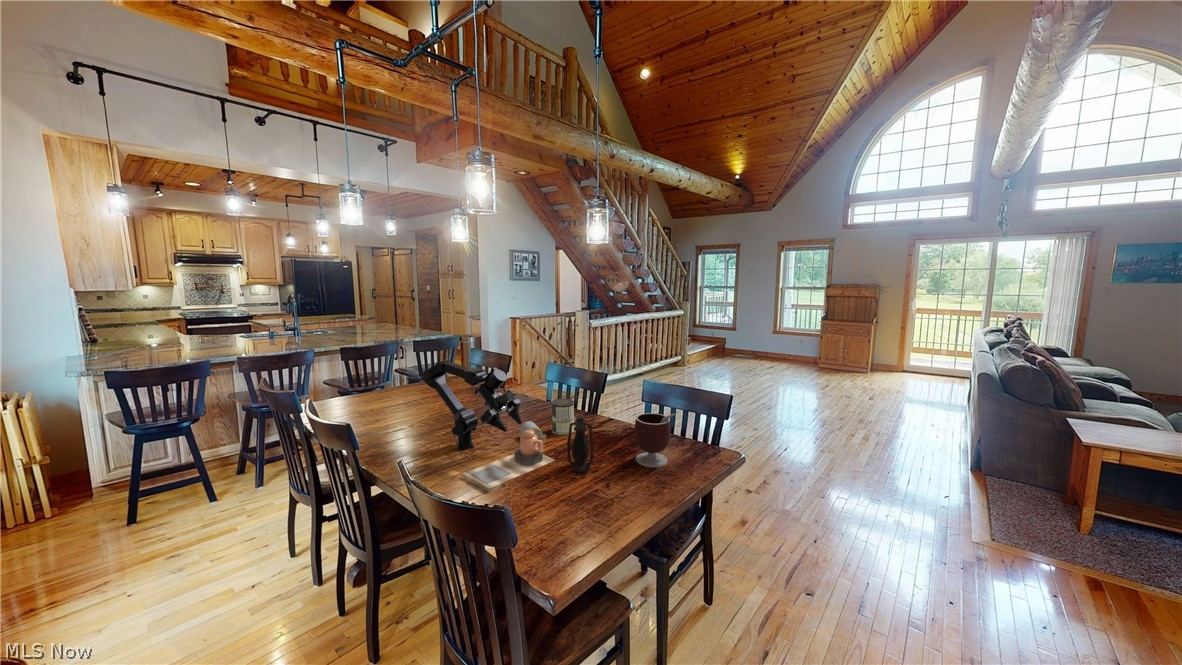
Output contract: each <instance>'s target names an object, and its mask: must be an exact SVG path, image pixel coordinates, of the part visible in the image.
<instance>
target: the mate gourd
mask: <svg viewBox="0 0 1182 665" xmlns="http://www.w3.org/2000/svg"><path fill="white" fill-rule="evenodd" d="M675 416H676V413H671V414H668V415H665V414H661V413H655V412H654V413H653V412H646V413H645V412H644V413H640V414H637V416H636V418H635V422H634V431H633V433H634V439H635V443H636V444H637V446H638V447H639V449H640V450H642V451H644V452H642V453H639V454H637V455H636V457H635V462H636V461H637V462H638V463H639V465H640V464H641V465H640V466H642V465H643V467H645V466H646V467H647V468H662V467H664V466H666V465H667V464H668V461H669V460H668V458H667V457H666V456H665V455H663V454H660V452H662V451H664V450H665V449H666V448H667V447H668V445H670V444H669V443H670V440H671V432H672V431H671V430H672V428H671V421H670V420H671V419H670V418H672V417H675ZM637 462H636V463H637ZM638 463H637V464H638Z"/></svg>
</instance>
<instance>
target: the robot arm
mask: <svg viewBox="0 0 1182 665" xmlns="http://www.w3.org/2000/svg"><path fill="white" fill-rule="evenodd" d="M446 374H450V375H452V376H454V377H455V376H456V377H459V378H461V379H463V380H464V382H465V383H466V384H468V385H469V386H472V387H474V389H475V390H474V395H478V394H479V395H480V396H481V397H482V398H483V400H484V402H485V403H484V405H485V407H487V406H488V407H489V409H486V410H485V411H484V412H483V413H482V414H481V416H480V422H481V423H482V424H483V425H484V424H486V425H490V426H492V427H494V428H496V429H498V430H500V431H502V432H505V433H506V432H508V428H506V426H505V424H504V423H503V421H502V420H501V418H500V417H501V416H500V414H501V413H504V412H506V413H507V415H508V416H509V417H510V418H511V419H512V420H514V421H515V422H516V423H517V424H518V425H522V424H523V423H522V418H521V415H520V412H519V408H520V406H521V403H522V401H521V399H519V398H518V397H515V396H516V391H514V389H513V388H510V389H507V390H506V393H502V392H498V391H497V390H498V389H499V388H500V387H501V386H502V385H503V384H504V382H506V381H507V379H508V376H507V374H506V372H504V371H503V370H501V369H498V368H497V367H493V368H492V369H490V372H487V371H486V370H485V369H483V368H470V367H466V366H464V365H460V364H458V363H455V362H452V361H450V360H448V359H446V360H441V361H438V362H437V363H436V364H434V365H433V366H431V367H429V368H427V369H425V370H424V371H423V372H422V376H421V377H422V381H423V382H424V383H425V384H426V385H427V386H428V387H430V388H432V389H434V390H435V391H436V392H437V394H438V395H439V396H440V397H441V399H442V400H443V402H444V403H445V405H446V406H447V408H448V409H449V410H450V412H451V414H453V419H454V424H455V426H454V427H453V428H451V432H452V435H454V436H457V443H455V446H456V449H457V450H458V451H461V450H467V449H473V448H475V445H474V443H473V442H472V441H473V438H472V435H473V434H472V432H475V431H477V426H478V425H479V418H478V415H477V414H476V413H475V412H474V410H473V409H472V408H468V409H467V408H465V406H464V405H463V404H462V403H461V401H460V400H459V399H458V397H457V396H456V395H455V393H454V392H453V390H452V389H451V388H450V387H449V385H448V384H447V381H446V380H447V379H446V377H447V376H446ZM475 386H477V387H475Z"/></svg>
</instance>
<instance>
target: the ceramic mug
mask: <svg viewBox="0 0 1182 665" xmlns="http://www.w3.org/2000/svg"><path fill="white" fill-rule="evenodd" d="M524 430H534V434H535V435H537V439H538V440H542V439H547V435H546V433H544V432H542V430H541V429H540V427H539V426H537V425H536V424H535V423H534V422H533V421H532V420H531V421H525V422H523V423H522V424H521V426H520V429H519V433H520V436H521V435H523V431H524Z"/></svg>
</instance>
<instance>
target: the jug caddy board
mask: <svg viewBox="0 0 1182 665" xmlns="http://www.w3.org/2000/svg"><path fill="white" fill-rule="evenodd" d="M537 448H539V446H537ZM554 461H556V459H554V458H551V457H549V456H547V455H545V454H544V451H543V452H537V455H535V456H521V453H520V447H519V448H517V449H515V452H514V453H513V454H511V455H508V456H505V457H502V458H500V459H497V460H495V461H492V462H489V463H487V464H484V465H481V466H478V467H476V468H473V469H470V470H468V471H465V472H463V473H462V477H463V478H464V479H465V478H466V479H465V480H467V481H468V482H471V483H472V484H474V485H475V486H477V487H478V488H480V489H482V490H483V491H485V492H486V493H491V492H494V491H496V490H499V489H502V488H503V487H506V486H507V484H504V483H505V482H507V481H510V480H512V479H514V478H517V477H519V476H522V475H524V474H526V473H529V472H531V471H533V470H536V469H538V468H541V467H543V466H545V465H548V464H549V463H552V462H554Z"/></svg>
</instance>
